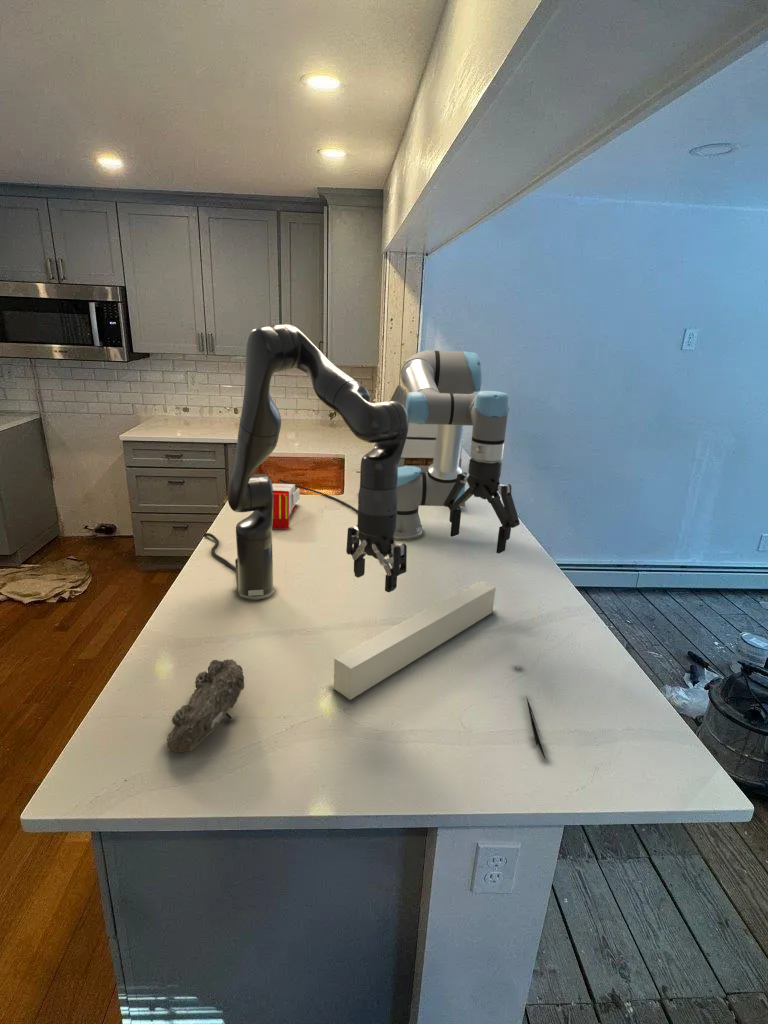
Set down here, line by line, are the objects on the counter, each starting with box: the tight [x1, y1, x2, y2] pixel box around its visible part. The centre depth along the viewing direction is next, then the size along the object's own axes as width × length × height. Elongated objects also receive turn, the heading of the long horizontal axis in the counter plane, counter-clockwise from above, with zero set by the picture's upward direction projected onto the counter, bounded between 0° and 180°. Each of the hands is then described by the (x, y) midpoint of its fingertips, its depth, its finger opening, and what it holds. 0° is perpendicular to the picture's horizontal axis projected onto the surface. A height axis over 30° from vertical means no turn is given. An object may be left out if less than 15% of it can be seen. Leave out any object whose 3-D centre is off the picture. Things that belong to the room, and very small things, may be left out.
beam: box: [333, 580, 496, 701], centre depth 133 cm, size 52×5×8 cm, turn 137°
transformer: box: [389, 384, 465, 469], centre depth 268 cm, size 34×33×41 cm
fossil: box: [166, 658, 245, 754], centre depth 106 cm, size 22×10×15 cm
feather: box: [517, 666, 549, 759], centre depth 114 cm, size 2×28×2 cm
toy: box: [272, 483, 301, 530], centre depth 210 cm, size 12×13×30 cm
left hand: (374, 583), depth 114 cm, fingers open, 8 cm apart
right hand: (476, 543), depth 139 cm, fingers open, 13 cm apart
